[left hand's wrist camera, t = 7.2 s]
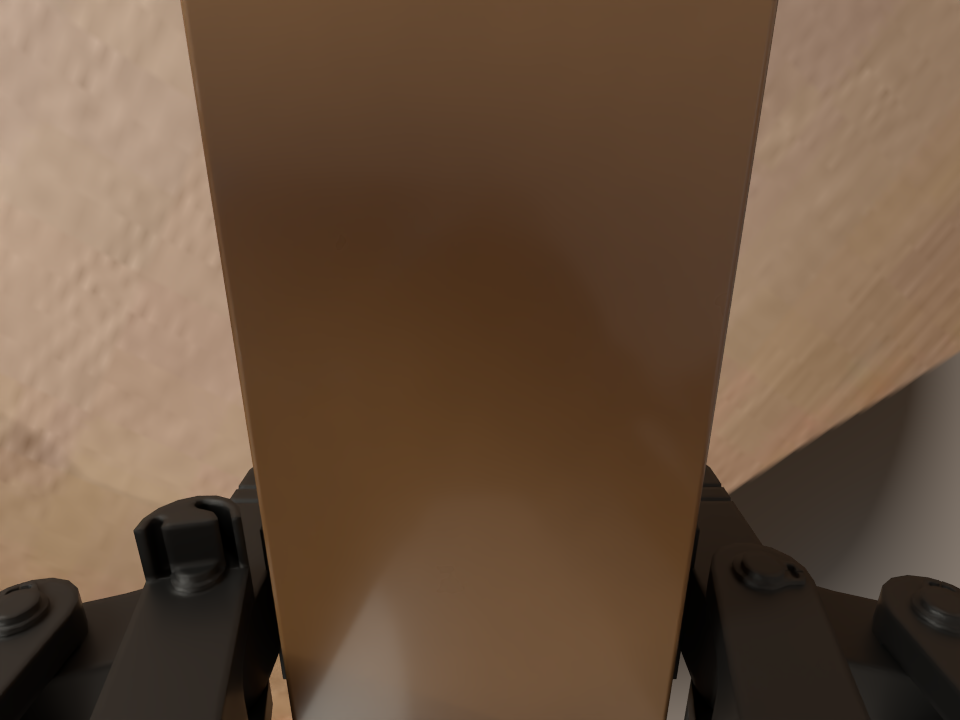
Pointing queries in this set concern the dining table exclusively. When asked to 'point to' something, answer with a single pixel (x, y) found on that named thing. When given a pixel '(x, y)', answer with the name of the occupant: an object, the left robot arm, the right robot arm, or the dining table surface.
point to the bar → (479, 332)
